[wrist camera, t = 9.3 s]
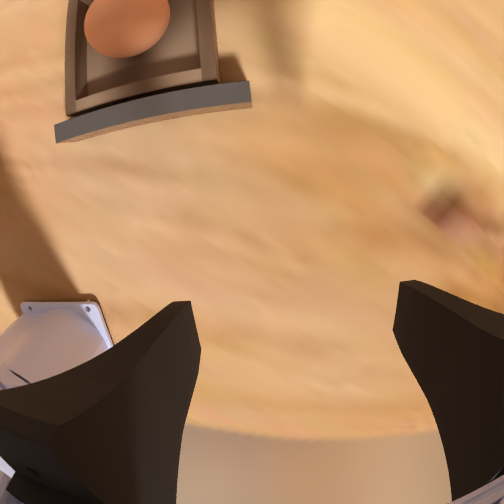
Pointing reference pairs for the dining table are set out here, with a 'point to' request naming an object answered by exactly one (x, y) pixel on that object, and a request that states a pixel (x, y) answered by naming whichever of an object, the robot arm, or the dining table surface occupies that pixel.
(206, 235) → the dining table surface
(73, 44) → the tray
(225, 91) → the rail
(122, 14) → the ball
